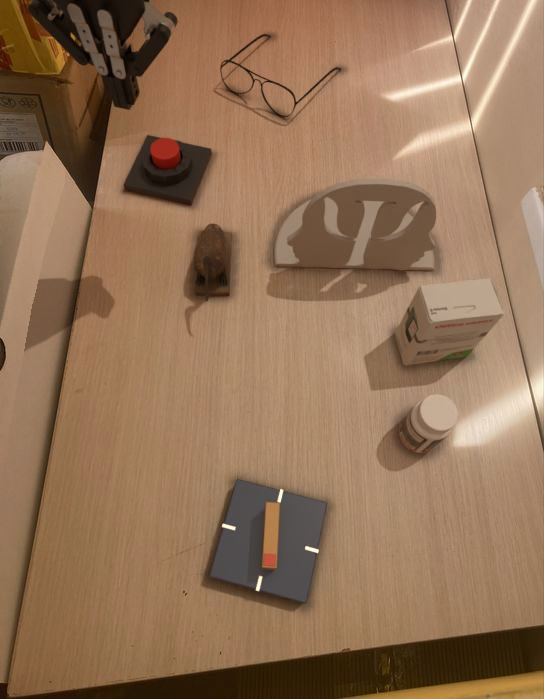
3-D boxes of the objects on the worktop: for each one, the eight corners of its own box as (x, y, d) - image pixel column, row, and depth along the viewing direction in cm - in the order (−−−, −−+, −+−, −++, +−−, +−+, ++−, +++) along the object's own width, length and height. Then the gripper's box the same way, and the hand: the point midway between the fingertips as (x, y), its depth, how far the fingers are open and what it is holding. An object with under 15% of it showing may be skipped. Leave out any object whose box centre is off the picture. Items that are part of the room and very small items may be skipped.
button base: (124, 190, 77) (120, 175, 75) (148, 140, 81) (144, 124, 79) (191, 205, 76) (189, 191, 74) (211, 154, 81) (210, 139, 78)
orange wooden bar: (265, 507, 56) (265, 501, 53) (278, 508, 56) (280, 502, 53) (261, 569, 54) (261, 567, 50) (275, 570, 54) (276, 568, 50)
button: (148, 166, 76) (146, 155, 74) (158, 146, 78) (155, 135, 76) (175, 172, 76) (173, 161, 74) (184, 151, 77) (182, 140, 75)
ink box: (457, 323, 70) (494, 274, 59) (468, 358, 68) (508, 314, 57) (393, 331, 69) (418, 283, 58) (402, 367, 67) (430, 323, 56)
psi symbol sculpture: (273, 267, 73) (278, 180, 57) (274, 190, 78) (279, 92, 63) (435, 272, 73) (482, 187, 58) (424, 195, 79) (465, 99, 63)
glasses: (218, 86, 87) (218, 56, 82) (268, 46, 94) (271, 16, 89) (293, 123, 84) (297, 94, 79) (339, 79, 91) (345, 50, 86)
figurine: (228, 324, 69) (225, 289, 61) (193, 323, 69) (185, 288, 61) (231, 234, 75) (229, 192, 67) (199, 234, 74) (193, 191, 67)
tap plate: (210, 578, 56) (207, 577, 53) (236, 482, 60) (235, 477, 58) (304, 604, 55) (307, 605, 53) (325, 506, 60) (328, 501, 57)
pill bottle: (438, 417, 64) (462, 393, 57) (437, 456, 62) (462, 436, 55) (398, 411, 65) (417, 387, 57) (396, 450, 63) (416, 429, 55)
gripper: (179, -118, 38) (201, 90, 54) (7, -148, 39) (77, 64, 55) (143, -59, 35) (177, 144, 51) (-43, -94, 36) (46, 115, 52)
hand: (125, 102), depth 53 cm, fingers closed
